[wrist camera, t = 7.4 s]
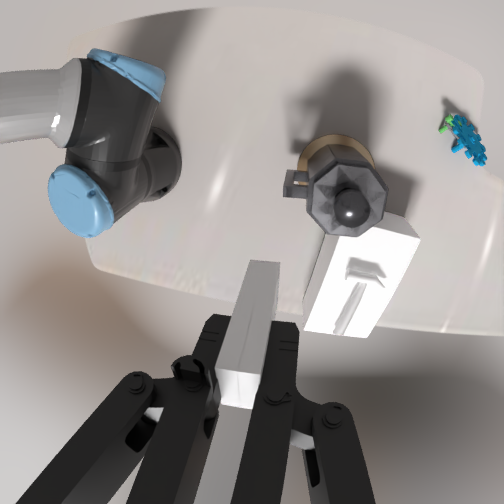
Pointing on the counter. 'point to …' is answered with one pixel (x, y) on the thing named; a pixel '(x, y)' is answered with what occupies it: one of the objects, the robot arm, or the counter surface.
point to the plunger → (351, 208)
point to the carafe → (337, 187)
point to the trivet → (327, 140)
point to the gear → (465, 138)
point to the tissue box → (358, 277)
